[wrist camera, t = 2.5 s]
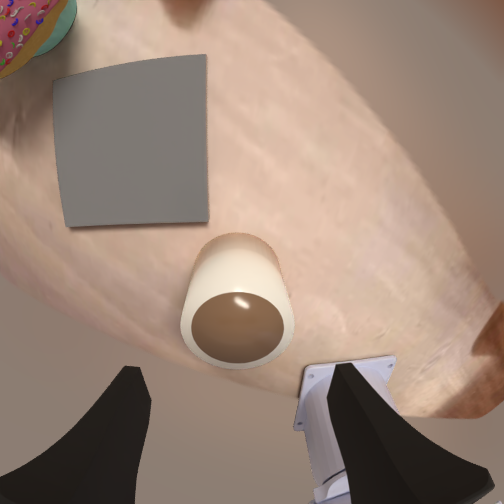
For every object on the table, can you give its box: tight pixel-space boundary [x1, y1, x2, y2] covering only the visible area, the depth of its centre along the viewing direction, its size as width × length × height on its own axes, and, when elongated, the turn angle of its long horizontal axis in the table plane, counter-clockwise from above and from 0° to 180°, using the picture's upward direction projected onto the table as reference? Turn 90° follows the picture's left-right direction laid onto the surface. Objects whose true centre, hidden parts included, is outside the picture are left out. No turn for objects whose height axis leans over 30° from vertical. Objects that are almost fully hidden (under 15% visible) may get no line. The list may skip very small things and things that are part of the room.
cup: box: [180, 233, 295, 370], centre depth 16 cm, size 5×5×6 cm
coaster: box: [53, 54, 209, 227], centre depth 14 cm, size 9×9×1 cm
